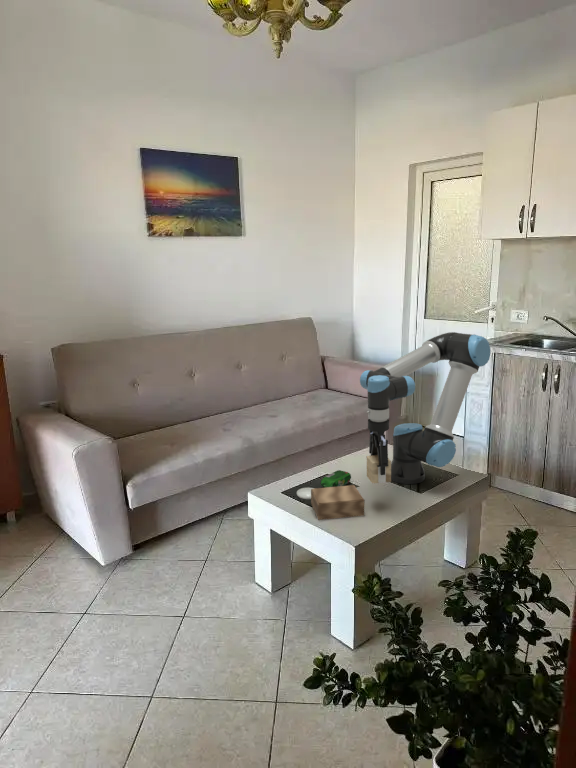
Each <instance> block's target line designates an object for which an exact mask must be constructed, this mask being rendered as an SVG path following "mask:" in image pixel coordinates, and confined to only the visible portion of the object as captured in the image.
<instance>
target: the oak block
mask: <svg viewBox="0 0 576 768" xmlns="http://www.w3.org/2000/svg"><path fill="white" fill-rule="evenodd" d="M391 463H392V460H390V458H389V457H388V466H387V467H386V482H385V483H391V482H392V480H391ZM377 465H379V461H378V455H372V456H371V455H367V456H366V477H367V478H368V480H369V481H370V483H371V484H372V485H373V484H379V483H378V467H377Z"/></svg>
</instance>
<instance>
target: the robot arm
mask: <svg viewBox="0 0 576 768" xmlns="http://www.w3.org/2000/svg"><path fill="white" fill-rule="evenodd" d="M491 353H492V352H491V346H490V343H489V340H488V339H487V338H486V337H484V336H481V335H477V334H475V333H474V334H470V333H462V332H461V333H460V332H455V331H451V332H445V333H441V334H439V335H436V336H433V337H431V338H430V339H428V340H426V341H424V342H423V343H422V345H421V346H420V347H418V348H416V349H414V350H412V351H410V352H408V353H407V354H405V355H403V356H401V357H399V358H396V359H394V360H393V361H391V362H389V363H387V364H386V365H383V366H381V367H380V368H377V369H375V370H372V369H370V370H369V369H368V370H365V371H363V372H362V373H361V375H360V378H359V383H360V386H361V387H362V388H363V389H365V390H367V410H366V414H367V418H368V419H367V429H368V431H369V450H368V452H369V454H370V456H372V455H378V461H379V465H377V467H378V483H377V484H381V483H382V484H383V483H387V482H386V467H387V466H388V458H389V449H388V444H389V440H388V439H386V434H385V432H387V431H389V429H390V420H389V419H390V401H393V400H394V401H395V400H398V399H402V398H407V397H409V396H412V395H413V394H414V393H415V392H416V382H415V380H414V379H413V378H412V377H411V376H409V375H410V374H412V373H414V372H416V371H418V370H419V369H422V368H424V367H425V366H427V365H428V364H430V363H432V364H435V363H438V362H441V361H448V365H449V367H450V369H449V372H448V374H447V376H446V377H447V378H446V381H445V383H444V386H443V388H442V391H441V393H440V397H439V400H438V403H437V405H436V407H435V410H434V413H433V415H432V419H431V421H430V424H427V425H425V427H424V428H423V425H422V424H420V423H416V422H415V423H413V422H409V423H400V424H398V425H396V426H395V427H394V429H393V435H392V460H391V482H394V483H398V484H403V485H416V484H419V483H423V482H424V481H425V479H426V472H425V469H424V465H423V463H426V464H427V465H430V466H433V467H437V468H443V467H446V465H449V464H450V462H452V461H453V459H454V457H455V455H456V451H457V449H456V447H457V446H456V443H455V442H454V439H455V436H454V434H453V429H454V426H455V424H456V420H457V418H458V416H459V412H460V409H461V407H462V404H463V402H464V399H465V396H466V393H467V391H468V388H469V385H470V382H471V380H472V376H473V375H474V374H476V373H478V372H479V369H480V367H484V366H486V364H488V363H489V360H490V357H491Z"/></svg>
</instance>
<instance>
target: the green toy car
mask: <svg viewBox="0 0 576 768" xmlns="http://www.w3.org/2000/svg"><path fill="white" fill-rule="evenodd" d="M351 479H352V474H351V473H350V472H348V471H345V470H339V469H338V470H336V471H334V472H332V473H330V474H328V475H326V476H324V477H322V479H321V480H320V481H321V482H320V486H321V487H322V488H327V487H338V486H347V484H349V482H350V481H351Z"/></svg>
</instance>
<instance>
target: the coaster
mask: <svg viewBox="0 0 576 768" xmlns="http://www.w3.org/2000/svg"><path fill="white" fill-rule="evenodd" d="M311 489H315V488H314V487H302V488H299V489H298V490H297V491H296V496H297V497H298V498H300V499H303V500H311Z"/></svg>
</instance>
